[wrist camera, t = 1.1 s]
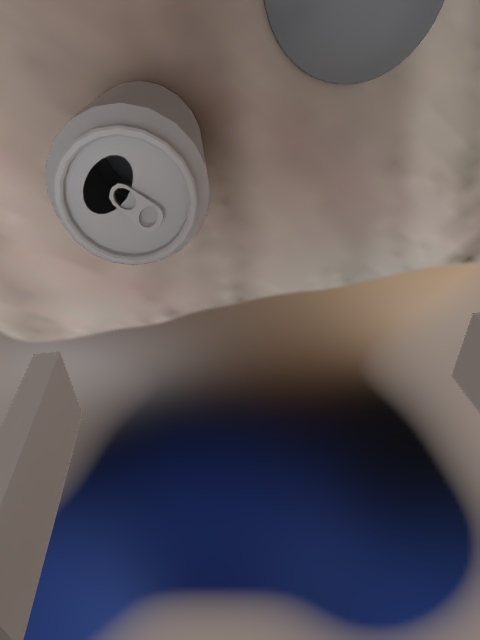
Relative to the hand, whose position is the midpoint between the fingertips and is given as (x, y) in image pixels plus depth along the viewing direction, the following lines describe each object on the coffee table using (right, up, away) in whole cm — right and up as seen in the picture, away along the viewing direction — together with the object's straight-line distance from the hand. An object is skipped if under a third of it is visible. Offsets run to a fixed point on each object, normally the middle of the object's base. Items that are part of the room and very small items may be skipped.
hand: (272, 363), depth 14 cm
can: (-7, +13, +15) cm, 21 cm away
